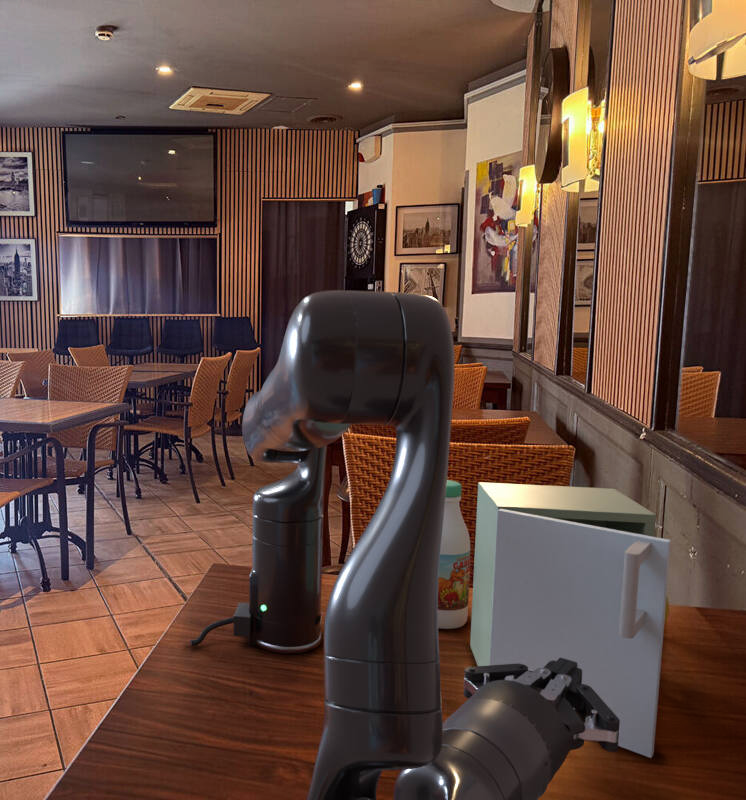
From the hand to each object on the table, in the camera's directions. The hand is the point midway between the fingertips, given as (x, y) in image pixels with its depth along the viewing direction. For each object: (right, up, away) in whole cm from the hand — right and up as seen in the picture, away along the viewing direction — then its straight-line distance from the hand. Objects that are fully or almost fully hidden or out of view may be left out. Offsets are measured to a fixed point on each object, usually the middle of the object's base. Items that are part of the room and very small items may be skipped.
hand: (568, 669), depth 65 cm
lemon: (+26, -7, +31) cm, 41 cm away
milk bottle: (-1, -7, +35) cm, 36 cm away
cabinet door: (+2, -9, +7) cm, 12 cm away
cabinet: (+7, -8, +19) cm, 22 cm away
